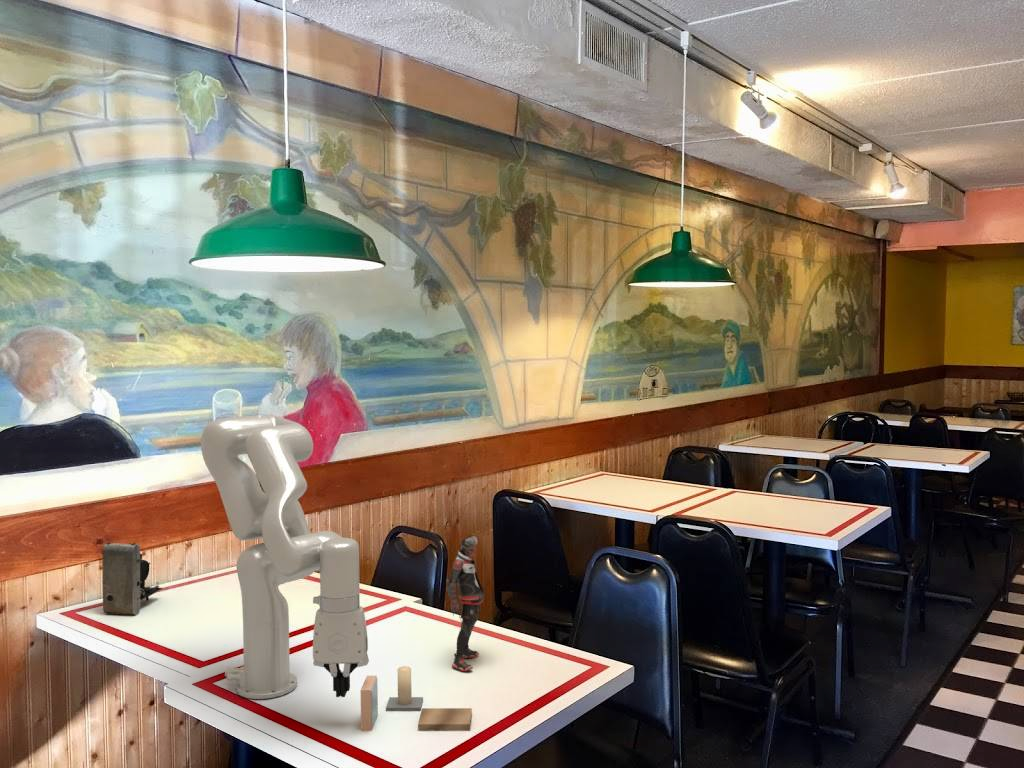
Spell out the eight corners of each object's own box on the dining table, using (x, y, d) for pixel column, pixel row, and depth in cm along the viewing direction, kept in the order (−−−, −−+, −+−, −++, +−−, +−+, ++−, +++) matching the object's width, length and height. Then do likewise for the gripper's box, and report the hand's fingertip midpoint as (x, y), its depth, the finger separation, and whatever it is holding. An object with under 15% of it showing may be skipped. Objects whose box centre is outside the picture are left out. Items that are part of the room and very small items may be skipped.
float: (385, 711, 170) (385, 673, 169) (389, 700, 175) (389, 664, 174) (420, 711, 170) (420, 673, 169) (423, 700, 175) (422, 664, 174)
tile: (361, 730, 161) (360, 690, 161) (367, 714, 168) (366, 675, 168) (372, 730, 161) (371, 690, 161) (378, 714, 168) (377, 675, 168)
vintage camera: (165, 601, 243) (164, 533, 243) (134, 616, 228) (132, 544, 227) (134, 600, 244) (133, 532, 244) (101, 616, 229) (99, 543, 229)
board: (418, 730, 161) (418, 724, 161) (422, 714, 168) (421, 708, 168) (469, 730, 161) (469, 724, 161) (471, 714, 168) (471, 708, 168)
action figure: (463, 675, 187) (462, 543, 186) (432, 661, 195) (431, 535, 194) (497, 662, 195) (496, 535, 193) (465, 650, 203) (464, 527, 201)
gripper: (297, 608, 160) (298, 702, 161) (375, 608, 160) (376, 702, 161) (306, 596, 167) (308, 686, 168) (381, 596, 167) (382, 686, 168)
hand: (341, 694), depth 164 cm, fingers closed
